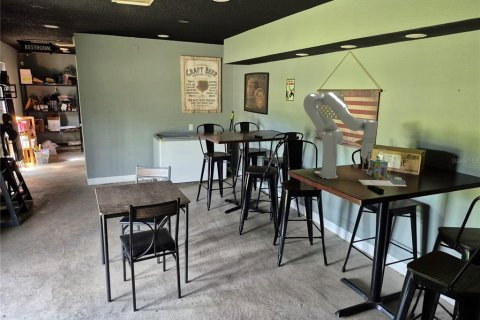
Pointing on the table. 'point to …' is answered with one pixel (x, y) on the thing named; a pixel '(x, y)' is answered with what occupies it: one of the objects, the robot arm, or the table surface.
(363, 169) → the rust marker
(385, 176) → the chalk box
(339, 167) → the table surface
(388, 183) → the colouring board
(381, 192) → the table surface
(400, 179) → the button
